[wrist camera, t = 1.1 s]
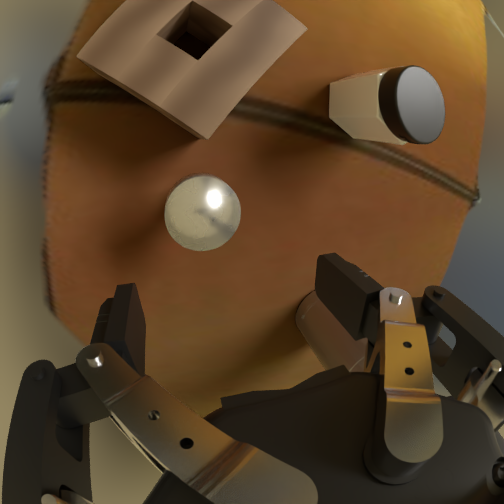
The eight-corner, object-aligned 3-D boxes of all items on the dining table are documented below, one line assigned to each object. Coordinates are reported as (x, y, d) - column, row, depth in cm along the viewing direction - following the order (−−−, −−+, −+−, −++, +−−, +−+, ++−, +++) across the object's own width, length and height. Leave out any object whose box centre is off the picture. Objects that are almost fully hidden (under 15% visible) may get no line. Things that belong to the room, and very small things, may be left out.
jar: (340, 146, 32) (408, 159, 21) (314, 88, 28) (380, 74, 18) (386, 123, 32) (454, 130, 22) (365, 69, 28) (433, 59, 18)
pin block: (276, 49, 25) (307, 28, 18) (198, 139, 27) (207, 139, 20) (182, -13, 19) (188, -49, 12) (98, 74, 21) (75, 56, 14)
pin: (231, 184, 30) (255, 205, 22) (200, 227, 31) (212, 263, 23) (187, 154, 28) (194, 161, 19) (156, 199, 29) (150, 226, 20)
